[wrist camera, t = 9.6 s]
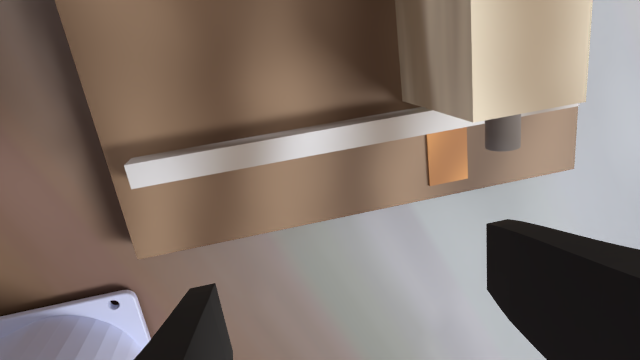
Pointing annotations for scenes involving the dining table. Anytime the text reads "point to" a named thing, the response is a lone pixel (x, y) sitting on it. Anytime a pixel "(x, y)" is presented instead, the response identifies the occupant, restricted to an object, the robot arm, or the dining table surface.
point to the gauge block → (493, 59)
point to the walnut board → (274, 117)
